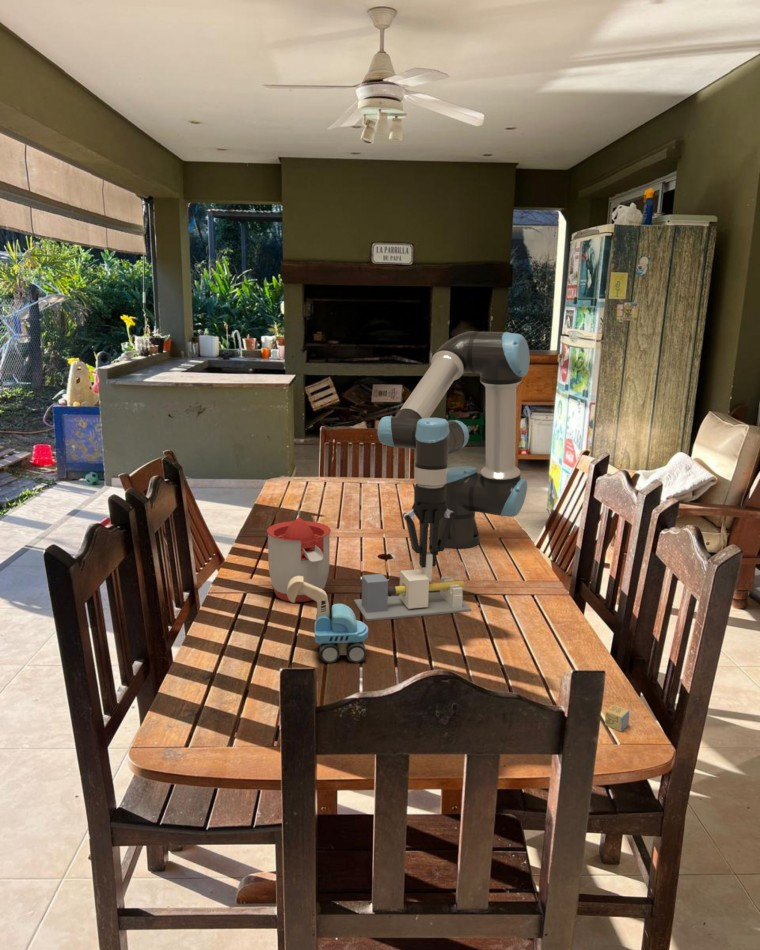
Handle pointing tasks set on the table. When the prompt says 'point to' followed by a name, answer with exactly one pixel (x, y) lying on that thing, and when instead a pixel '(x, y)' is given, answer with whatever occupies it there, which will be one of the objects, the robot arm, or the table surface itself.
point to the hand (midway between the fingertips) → (427, 579)
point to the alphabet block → (617, 718)
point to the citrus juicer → (298, 555)
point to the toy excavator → (332, 624)
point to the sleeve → (414, 588)
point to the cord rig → (384, 607)
